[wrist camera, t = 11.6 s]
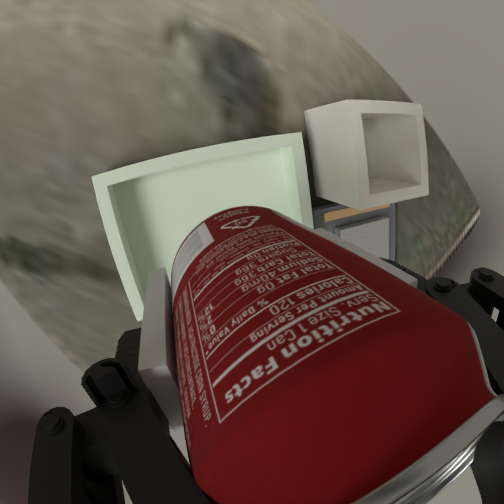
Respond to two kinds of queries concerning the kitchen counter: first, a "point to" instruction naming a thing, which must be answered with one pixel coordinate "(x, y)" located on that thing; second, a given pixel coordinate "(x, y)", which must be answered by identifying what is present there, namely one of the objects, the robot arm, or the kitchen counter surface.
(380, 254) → the platform
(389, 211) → the checker cradle
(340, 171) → the cup
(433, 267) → the kitchen counter surface
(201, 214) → the trough
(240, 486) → the soda can
